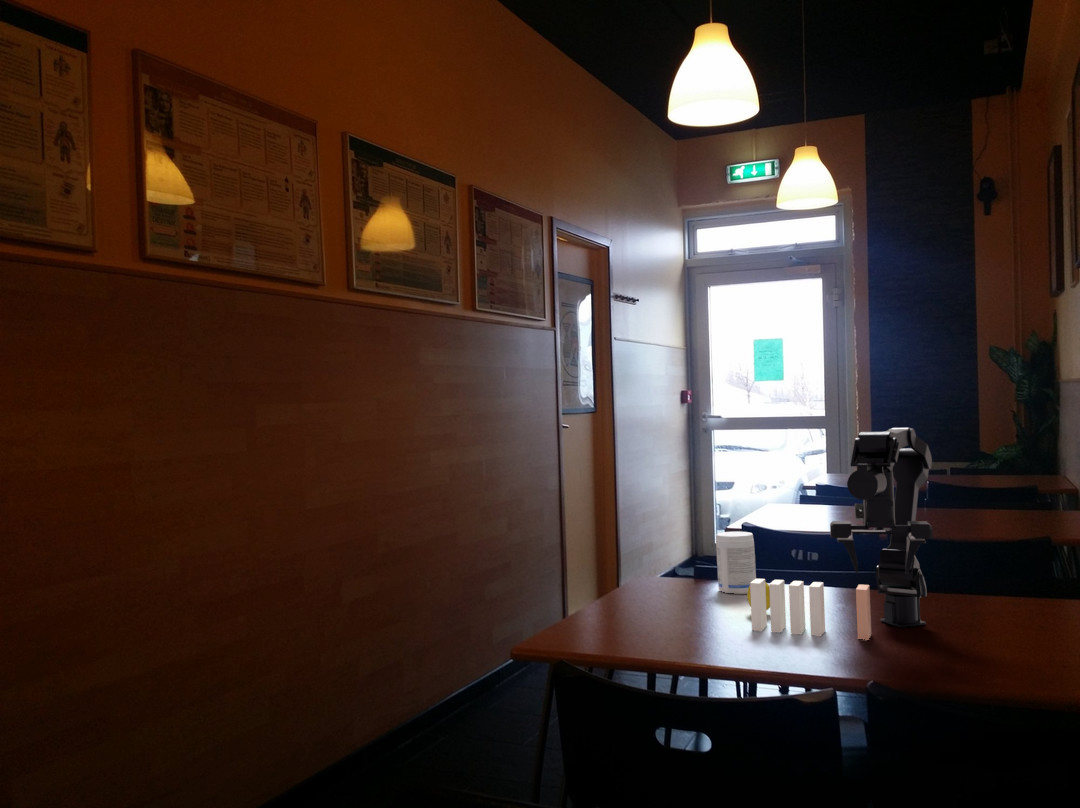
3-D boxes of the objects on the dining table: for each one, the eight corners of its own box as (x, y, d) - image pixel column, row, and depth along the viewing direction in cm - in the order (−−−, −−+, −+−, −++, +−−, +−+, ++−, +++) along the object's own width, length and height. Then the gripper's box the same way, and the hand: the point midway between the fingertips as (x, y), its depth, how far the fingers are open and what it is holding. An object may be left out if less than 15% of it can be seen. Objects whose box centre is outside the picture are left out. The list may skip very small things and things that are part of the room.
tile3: (805, 629, 180) (803, 581, 180) (800, 634, 175) (798, 585, 176) (795, 628, 181) (793, 580, 181) (790, 633, 176) (788, 585, 177)
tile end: (767, 625, 184) (765, 579, 184) (761, 631, 179) (759, 583, 179) (757, 625, 185) (755, 578, 185) (751, 630, 180) (750, 582, 180)
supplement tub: (763, 590, 219) (761, 532, 219) (743, 596, 213) (741, 537, 213) (731, 585, 226) (729, 530, 226) (710, 592, 220) (708, 534, 220)
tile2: (825, 630, 178) (823, 582, 178) (821, 636, 174) (819, 587, 174) (815, 629, 179) (813, 581, 179) (810, 635, 175) (809, 586, 175)
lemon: (774, 617, 191) (772, 581, 191) (748, 617, 192) (747, 581, 192) (772, 611, 196) (771, 576, 196) (747, 611, 197) (746, 576, 197)
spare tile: (871, 634, 174) (869, 585, 174) (868, 640, 169) (866, 589, 170) (860, 633, 175) (858, 584, 175) (857, 639, 170) (855, 589, 170)
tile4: (786, 627, 182) (784, 580, 182) (780, 633, 177) (779, 584, 177) (776, 626, 183) (774, 579, 183) (771, 632, 178) (769, 584, 178)
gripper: (924, 490, 176) (927, 566, 175) (828, 491, 181) (831, 565, 181) (931, 496, 165) (935, 577, 165) (829, 496, 171) (832, 575, 170)
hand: (881, 573), depth 171 cm, fingers open, 9 cm apart
